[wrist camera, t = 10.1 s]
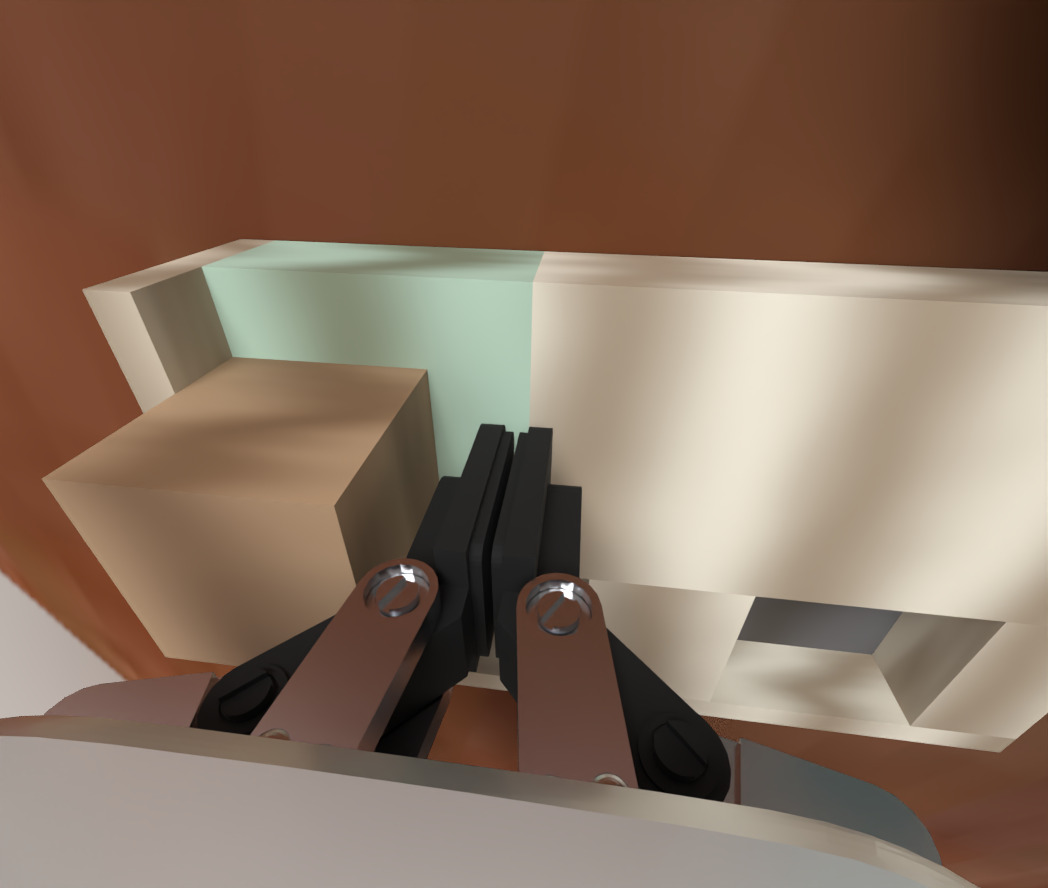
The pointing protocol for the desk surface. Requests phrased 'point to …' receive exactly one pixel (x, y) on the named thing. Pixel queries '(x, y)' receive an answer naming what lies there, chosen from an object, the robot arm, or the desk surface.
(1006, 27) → the desk surface
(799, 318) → the board
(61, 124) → the desk surface
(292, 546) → the walnut block
